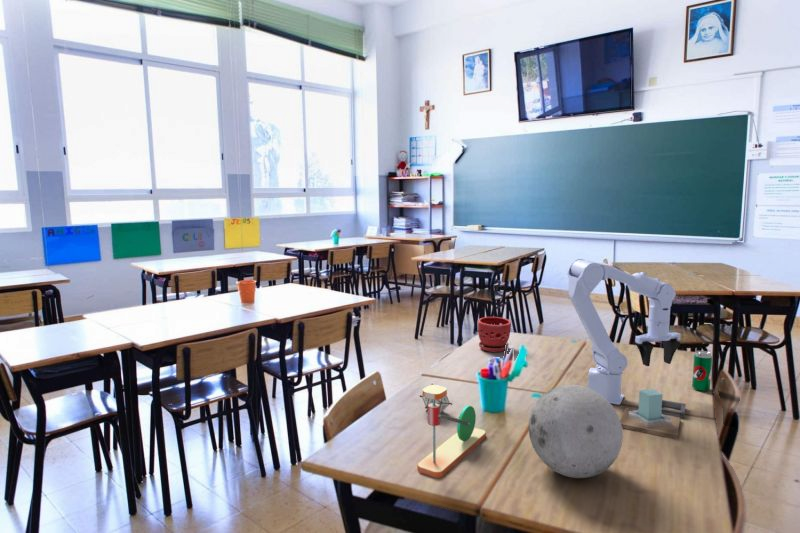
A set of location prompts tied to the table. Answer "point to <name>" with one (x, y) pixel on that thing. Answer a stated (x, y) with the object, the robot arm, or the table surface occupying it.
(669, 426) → the socket board
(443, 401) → the grey wire strut frame
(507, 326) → the plant pot
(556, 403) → the moon model
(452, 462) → the crank mechanism
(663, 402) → the stand socket
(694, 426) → the table surface
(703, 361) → the soda can
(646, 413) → the teal peg
